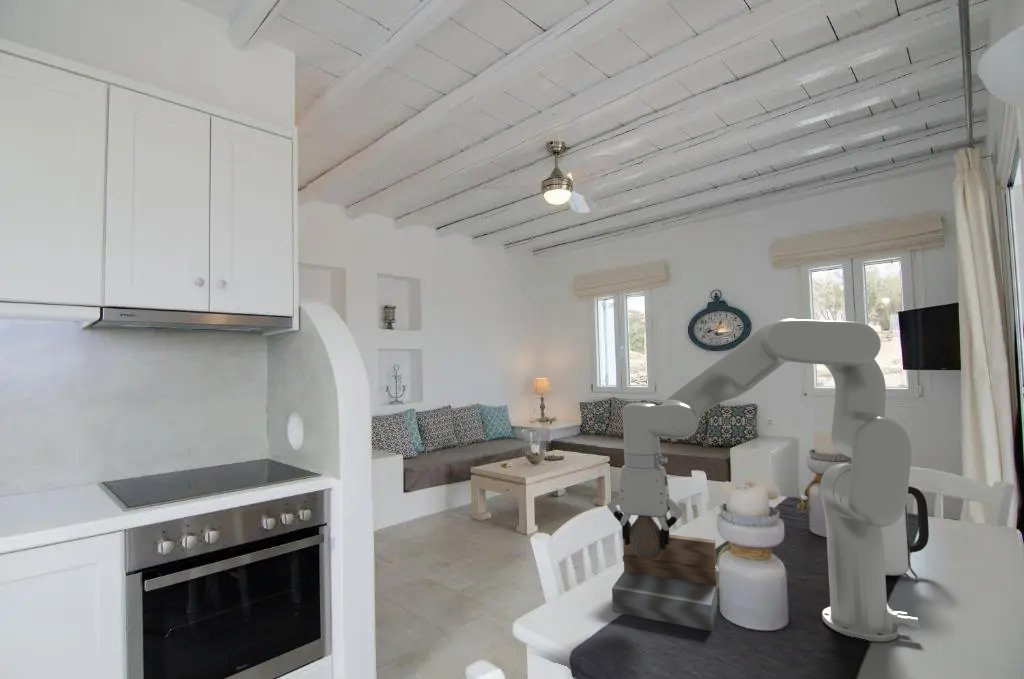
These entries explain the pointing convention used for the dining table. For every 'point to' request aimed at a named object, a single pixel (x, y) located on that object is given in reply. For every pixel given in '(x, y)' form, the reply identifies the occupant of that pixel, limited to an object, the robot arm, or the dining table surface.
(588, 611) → the dining table surface
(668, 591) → the wall shelf
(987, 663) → the dining table surface
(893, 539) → the coffee press
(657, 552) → the vase
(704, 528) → the dining table surface
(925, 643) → the dining table surface
